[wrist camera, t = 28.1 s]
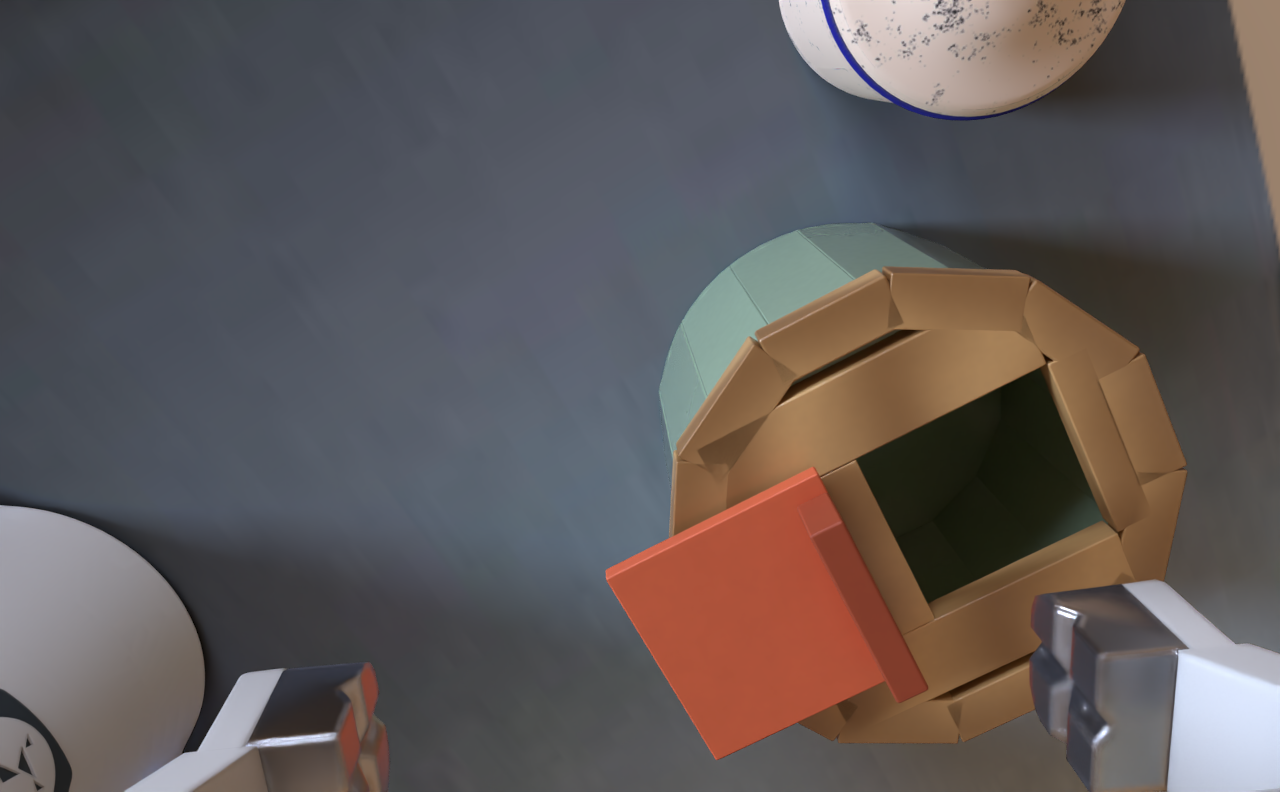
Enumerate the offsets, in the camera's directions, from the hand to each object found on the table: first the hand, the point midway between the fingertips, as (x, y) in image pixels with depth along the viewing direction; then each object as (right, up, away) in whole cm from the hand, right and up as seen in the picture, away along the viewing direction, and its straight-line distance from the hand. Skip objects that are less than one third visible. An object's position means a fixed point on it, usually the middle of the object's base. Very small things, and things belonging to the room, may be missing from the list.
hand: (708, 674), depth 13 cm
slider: (+3, -3, +18) cm, 19 cm away
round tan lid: (+8, 0, +19) cm, 21 cm away
